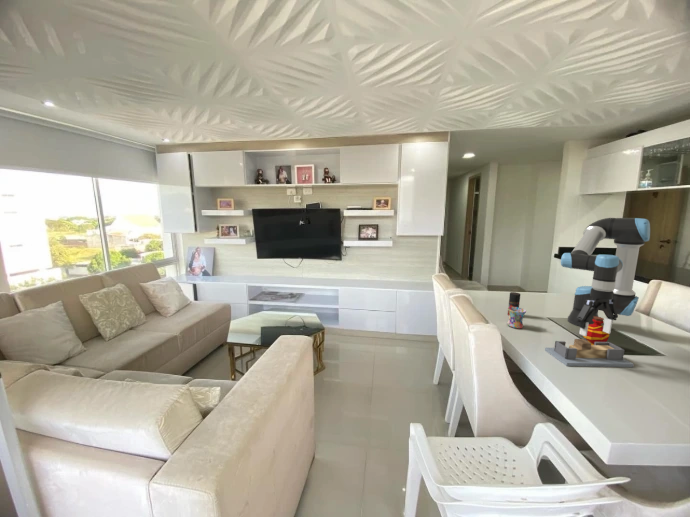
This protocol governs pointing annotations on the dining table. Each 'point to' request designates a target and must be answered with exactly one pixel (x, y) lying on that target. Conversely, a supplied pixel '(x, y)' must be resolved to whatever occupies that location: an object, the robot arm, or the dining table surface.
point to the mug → (516, 317)
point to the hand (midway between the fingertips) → (594, 333)
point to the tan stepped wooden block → (589, 349)
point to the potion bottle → (596, 331)
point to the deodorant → (514, 300)
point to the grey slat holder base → (569, 358)
